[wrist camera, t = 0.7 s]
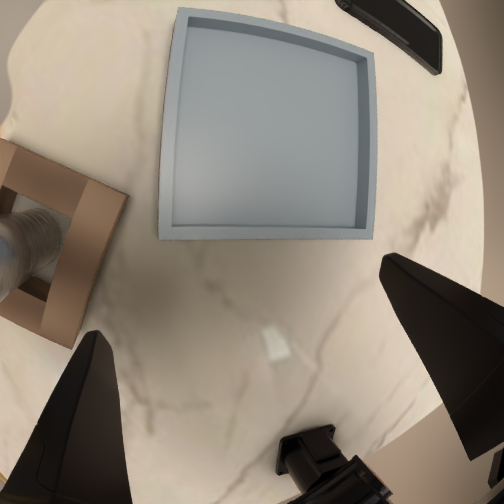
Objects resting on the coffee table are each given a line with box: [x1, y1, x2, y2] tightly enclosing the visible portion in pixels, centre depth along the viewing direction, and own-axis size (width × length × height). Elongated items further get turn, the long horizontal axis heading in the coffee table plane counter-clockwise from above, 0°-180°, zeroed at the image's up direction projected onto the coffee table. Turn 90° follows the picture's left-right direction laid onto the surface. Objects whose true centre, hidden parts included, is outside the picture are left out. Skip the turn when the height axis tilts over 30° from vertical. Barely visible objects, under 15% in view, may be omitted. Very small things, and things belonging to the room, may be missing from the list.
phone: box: [335, 0, 442, 75], centre depth 23 cm, size 8×1×15 cm
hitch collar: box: [0, 138, 129, 350], centre depth 16 cm, size 11×11×3 cm
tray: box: [158, 7, 377, 240], centre depth 20 cm, size 16×16×2 cm
